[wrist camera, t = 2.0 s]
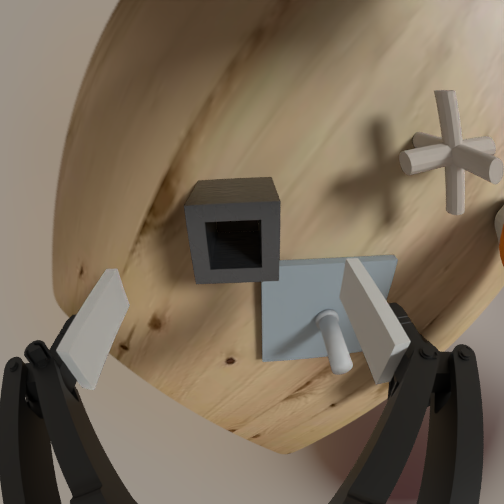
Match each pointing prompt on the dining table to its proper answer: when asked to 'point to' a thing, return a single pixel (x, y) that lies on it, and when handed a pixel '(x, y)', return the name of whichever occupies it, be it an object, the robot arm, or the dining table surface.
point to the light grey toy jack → (452, 153)
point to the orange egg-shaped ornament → (500, 231)
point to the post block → (315, 310)
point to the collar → (236, 242)
